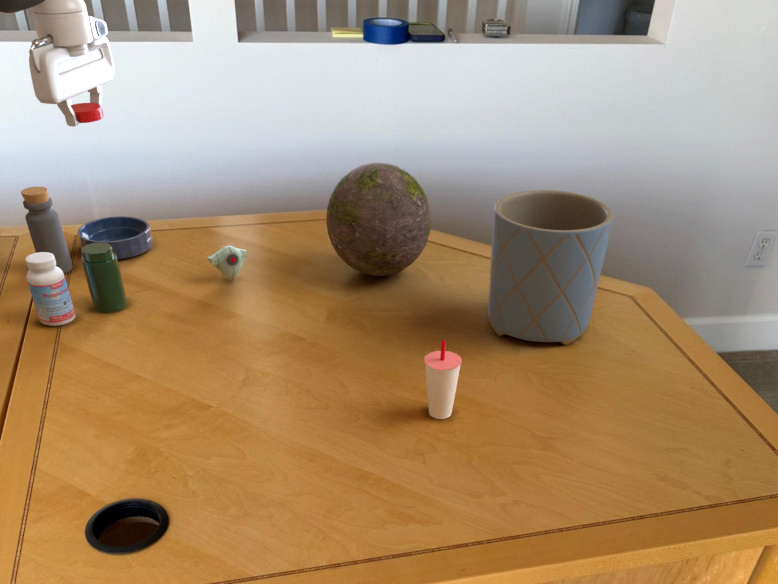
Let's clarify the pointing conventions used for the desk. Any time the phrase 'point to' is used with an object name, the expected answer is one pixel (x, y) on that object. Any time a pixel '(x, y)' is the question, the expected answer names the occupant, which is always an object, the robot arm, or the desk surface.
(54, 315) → the pill bottle
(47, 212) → the bottle
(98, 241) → the bowl
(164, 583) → the desk surface
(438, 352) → the cup
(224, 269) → the robot head
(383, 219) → the decorative stone
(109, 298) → the green jar
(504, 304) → the planter
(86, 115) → the cap
